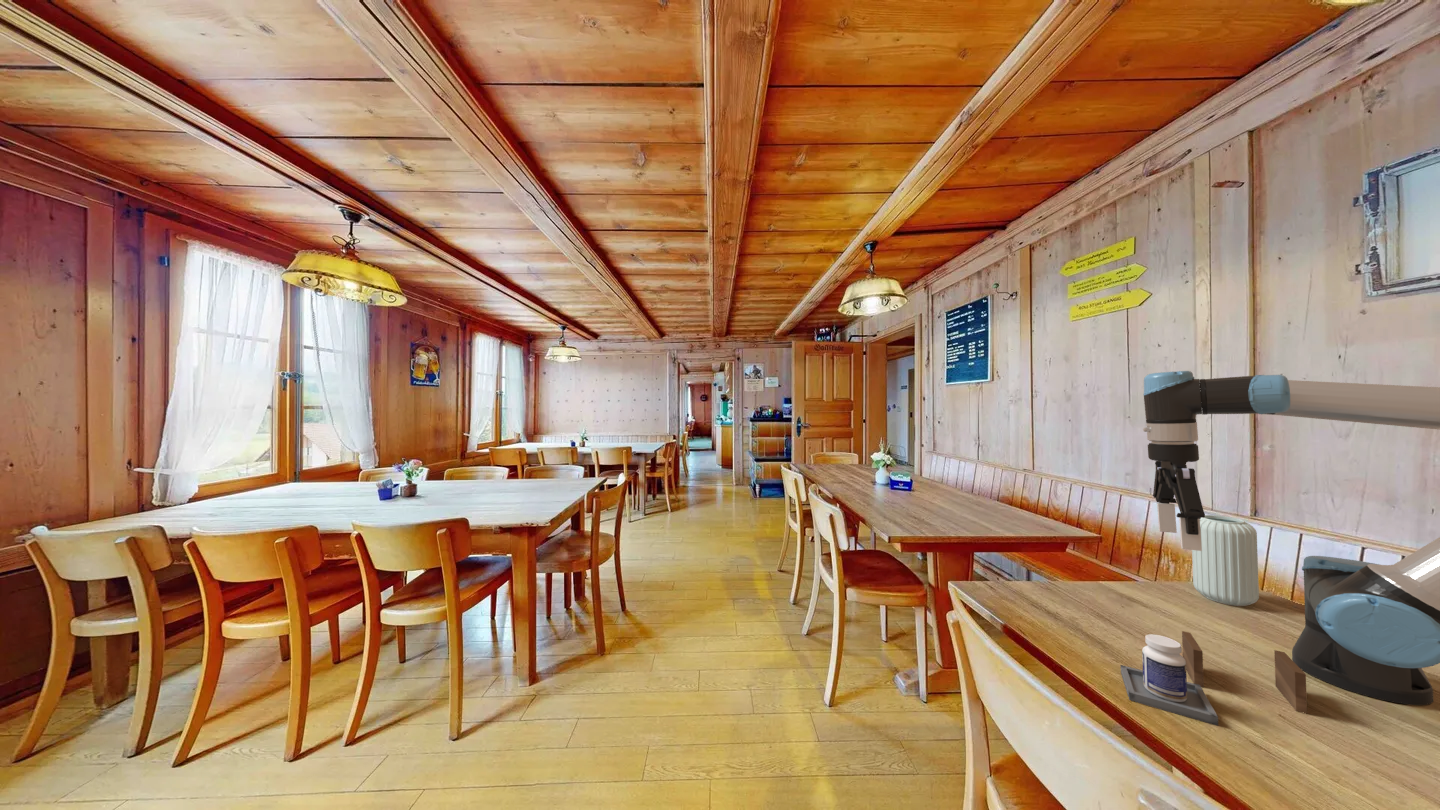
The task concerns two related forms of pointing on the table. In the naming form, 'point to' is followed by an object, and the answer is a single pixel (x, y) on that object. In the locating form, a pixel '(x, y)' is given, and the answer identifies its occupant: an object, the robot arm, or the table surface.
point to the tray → (1192, 707)
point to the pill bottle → (1164, 668)
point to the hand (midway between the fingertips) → (1178, 540)
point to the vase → (1227, 561)
